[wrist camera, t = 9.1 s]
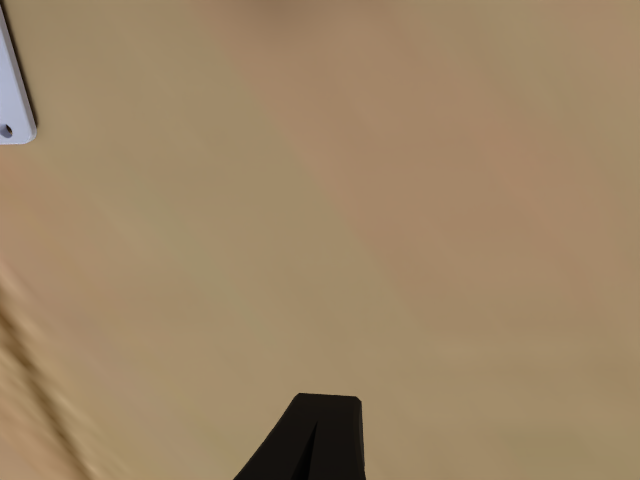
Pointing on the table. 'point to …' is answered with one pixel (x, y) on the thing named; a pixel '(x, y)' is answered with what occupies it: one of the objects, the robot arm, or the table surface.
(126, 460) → the table surface
